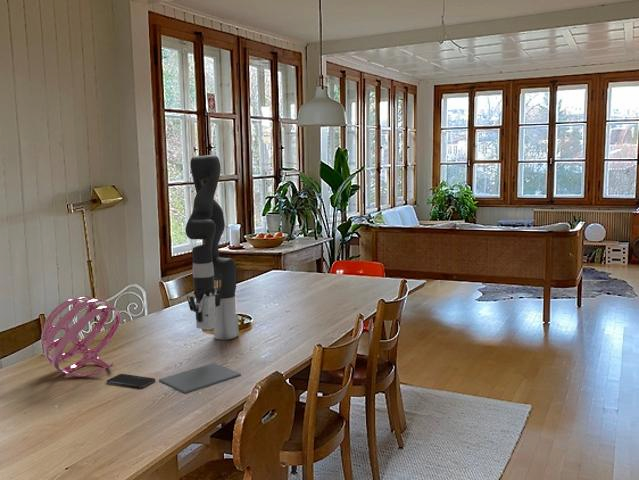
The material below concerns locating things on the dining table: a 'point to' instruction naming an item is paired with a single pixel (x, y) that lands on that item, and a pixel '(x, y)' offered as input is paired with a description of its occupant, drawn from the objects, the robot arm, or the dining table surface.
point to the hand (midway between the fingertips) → (206, 319)
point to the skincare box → (208, 314)
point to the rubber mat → (199, 377)
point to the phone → (131, 381)
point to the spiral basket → (72, 333)
